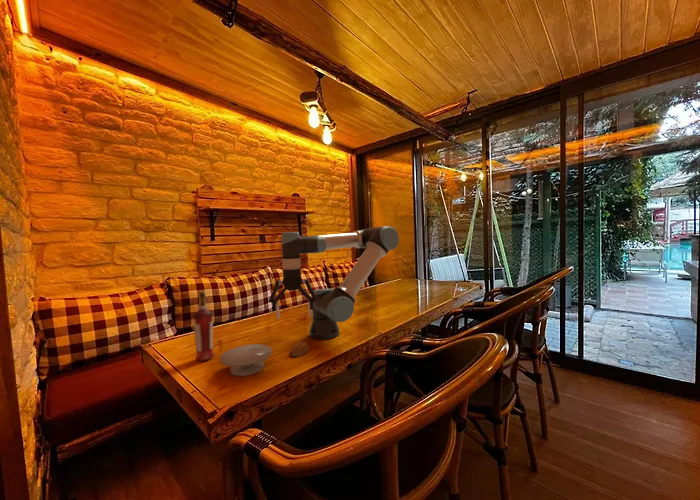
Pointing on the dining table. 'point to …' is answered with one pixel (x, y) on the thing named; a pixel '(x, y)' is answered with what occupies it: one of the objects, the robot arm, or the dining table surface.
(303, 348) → the pastry
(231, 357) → the cake stand
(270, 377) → the dining table surface
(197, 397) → the dining table surface
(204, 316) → the ketchup bottle
